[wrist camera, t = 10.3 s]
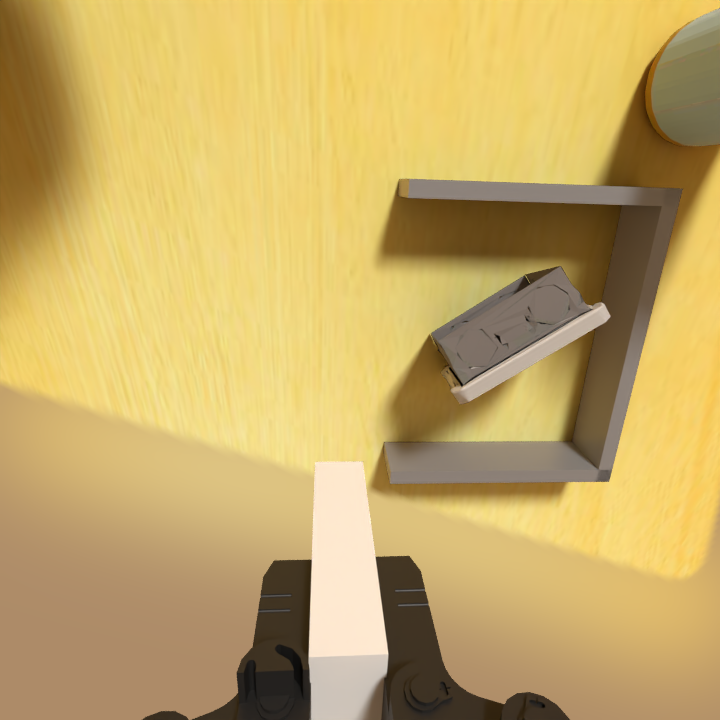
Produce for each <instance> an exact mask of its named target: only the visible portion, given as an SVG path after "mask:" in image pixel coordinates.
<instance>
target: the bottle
mask: <svg viewBox="0 0 720 720" xmlns="http://www.w3.org/2000/svg"><path fill="white" fill-rule="evenodd" d="M645 100H646V110H647V114H648V117H649V119H650V122H651V124H652V126H653V128H654V129H655V130H656V131H657V132H658V134H659V135H660V136H661V137H662V138H663V139H665V140H666V141H669V142H671V143H673V144H675V145H679V146H707V145H718V144H720V8H719V9H717V10H714V11H712V12H710V13H707V14H705V15H703V16H701V17H699V18H697V19H695V20H693V21H691V22H689V23H687V24H686V25H685V26H683V27H682V28H680V29H679V30H677V31H676V32H675V33H674V34H673V35H672V36H671V37H670V38H669V39H668V40H667V42H666V43H665V44H664V45H663V46H662V48H661V49H660V50H659V52H658V54H657V56H656V58H655V60H654V62H653V64H652V66H651V68H650V71H649V74H648V79H647V84H646V89H645Z"/></svg>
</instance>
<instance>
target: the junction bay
mask: <svg viewBox="0 0 720 720" xmlns="http://www.w3.org/2000/svg"><path fill="white" fill-rule="evenodd" d="M682 190H683V189H679V188H650V187H622V186H594V185H566V184H538V183H510V182H481V181H453V180H425V179H399V193H398V196H401V197H406V198H425V199H456V200H487V201H518V202H548V203H579V204H610V205H622V208H621V213H620V218H619V222H618V227H617V232H616V236H615V241H614V246H613V250H612V255H611V260H610V265H609V269H608V274H607V279H606V283H605V288H604V293H603V298H602V302H601V303H603V304H605V306H606V308H607V310H608V312H609V314H610V316H611V317H610V318H609V319H608V320H607V321H606V322H605V323H603V324H602V325H600V326H598V327H596V330H595V335H594V340H593V345H592V349H591V354H590V359H589V363H588V368H587V373H586V377H585V382H584V387H583V392H582V396H581V401H580V406H579V410H578V415H577V420H576V425H575V429H574V434H573V439H572V441H556V442H384V458H385V463H386V468H387V472H388V477H389V482H390V484H422V483H518V482H609V480H610V476H611V472H612V468H613V464H614V460H615V456H616V452H617V448H618V444H619V440H620V436H621V432H622V428H623V424H624V420H625V416H626V412H627V408H628V404H629V400H630V396H631V392H632V388H633V384H634V380H635V376H636V372H637V368H638V365H639V361H640V357H641V353H642V349H643V345H644V341H645V337H646V333H647V329H648V325H649V321H650V317H651V313H652V309H653V305H654V301H655V297H656V293H657V289H658V285H659V281H660V277H661V273H662V269H663V265H664V261H665V257H666V253H667V249H668V245H669V241H670V237H671V233H672V229H673V225H674V221H675V218H676V214H677V210H678V206H679V202H680V198H681V194H682Z"/></svg>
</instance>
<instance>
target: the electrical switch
mask: <svg viewBox="0 0 720 720" xmlns="http://www.w3.org/2000/svg"><path fill="white" fill-rule="evenodd" d="M525 275H526V276H527V278H528V280H529V281H528V280H527V278H526V277H525V276H523V277H521V278H520V279H518V280H516V281H515V282H513V283H511V284H510V285H508V286H507V287H505V288H503V289H502V290H500V291H498V292H497V293H495V294H494V295H492V296H490V297H489V298H487V299H486V300H484V301H482V302H481V303H479V304H477V305H476V306H474V307H473V308H471V309H469V310H468V311H466V312H464V313H463V314H461V315H460V316H458V317H456V318H455V319H453V320H451V321H450V322H448V323H447V324H445V325H443V326H442V327H440V328H439V329H437V330H435V331H434V332H432V334H431V336H432V335H433V336H432V338H433V340H434V341H435V343H436V345H437V346H438V348H439V349H438V351H439V352H440V353H441V354H442V355H443V356H444V358H445V360H446V361H447V363H448V364H449V366H447V367H445V368H444V369H443V370H442V371H441V374H442V375H443V376H444V378H445V379H446V380H447V382H448V383H449V385H450V387H451V389H450V390H451V392H452V394H453V395H454V397H455V398H456V399H457V401H458V402H459V403H460V404H464V403H467V402H470V401H472V400H473V399H475V398H477V397H478V396H480V395H482V394H484V393H485V392H487V391H489V390H490V389H492V388H494V387H496V386H497V385H499V384H501V383H502V382H504V381H506V380H507V379H509V378H511V377H513V376H514V375H516V374H518V373H519V372H521V371H523V370H525V369H526V368H528V367H530V366H531V365H533V364H535V363H537V362H538V361H540V360H542V359H543V358H545V357H547V356H549V355H550V354H552V353H554V352H555V351H557V350H559V349H561V348H562V347H564V346H566V345H567V344H569V343H571V342H573V341H574V340H576V339H578V338H579V337H581V336H583V335H584V334H586V333H588V332H590V331H591V330H593V329H595V328H596V327H598V326H600V325H602V324H603V323H605V322H606V321H607V320H608V319H609V318H610V317H611V316H610V314H609V312H608V310H607V308H606V306H605V304H603V303H601V302H599V303H595V304H594V305H586V303H585V302H584V300H583V298H582V296H581V294H580V292H579V291H578V290H576V289H575V288H574V287H573V286H572V284H571V283H570V281H569V279H568V278H567V276H566V274H565V272H564V271H563V269H562V267H561V266H558V267H554V268H550V269H546V270H542V271H538V272H534V273H530V274H525ZM529 282H530V283H529ZM500 296H502V297H501V298H500V299H499V297H500ZM464 321H468V322H464ZM453 326H454V327H453ZM452 327H453V328H452Z"/></svg>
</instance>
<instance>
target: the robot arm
mask: <svg viewBox="0 0 720 720" xmlns="http://www.w3.org/2000/svg"><path fill="white" fill-rule="evenodd" d="M237 681H238V694H237V695H236V696H235V697H234V698H233V699H232V700H231V701H230V702H228V703H227V704H226V705H224V706H223V707H221V708H219V709H217V710H215V711H213V712H211V713H208V714H205V715H203V716H200V717H198V718H195V719H192V720H570V719H569V718H568V717H567V716H566V715H565V713H564V712H563V711H562V710H561V709H560V708H559V707H558V706H557V705H556V704H555V703H553V702H551V701H550V700H549V699H547V698H545V697H544V696H541V695H538V694H534V693H530V692H526V693H517V694H515V695H514V696H512V697H510V698H509V699H508V700H507V701H506V703H505V704H501V703H497V702H494V701H491V700H488V699H484V698H481V697H478V696H476V695H473V694H471V693H469V692H467V691H466V690H464V689H463V688H461V687H460V686H459V685H458V684H457V683H456V682H454V680H453V679H452V678H451V677H450V675H449V674H448V672H447V670H446V669H445V666H444V663H443V661H442V657H441V653H440V649H439V645H438V640H437V636H436V632H435V628H434V624H433V620H432V616H431V612H430V608H429V605H428V599H427V595H426V592H425V587H424V583H423V579H422V574H421V571H420V569H419V568H418V567H417V566H416V564H415V563H414V562H413V560H412V559H411V558H410V556H390V557H375V551H374V543H373V536H372V528H371V520H370V513H369V505H368V498H367V490H366V483H365V475H364V468H363V461H359V462H315V484H314V513H313V542H312V560H282V561H281V560H280V561H273V563H272V564H271V566H270V567H269V569H268V571H267V572H266V574H265V575H264V577H263V583H262V590H261V598H260V603H259V609H258V616H257V622H256V629H255V635H254V642H253V648H251V649H250V651H249V652H248V653H247V654H246V655H245V656H244V658H243V659H242V660H241V663H240V665H239V668H238V671H237ZM143 720H188V718H187V717H186V716H183V715H181V714H179V713H177V712H176V711H161V712H158V713H156V714H153V715H150V716H147V717H145V718H144V719H143Z"/></svg>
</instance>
